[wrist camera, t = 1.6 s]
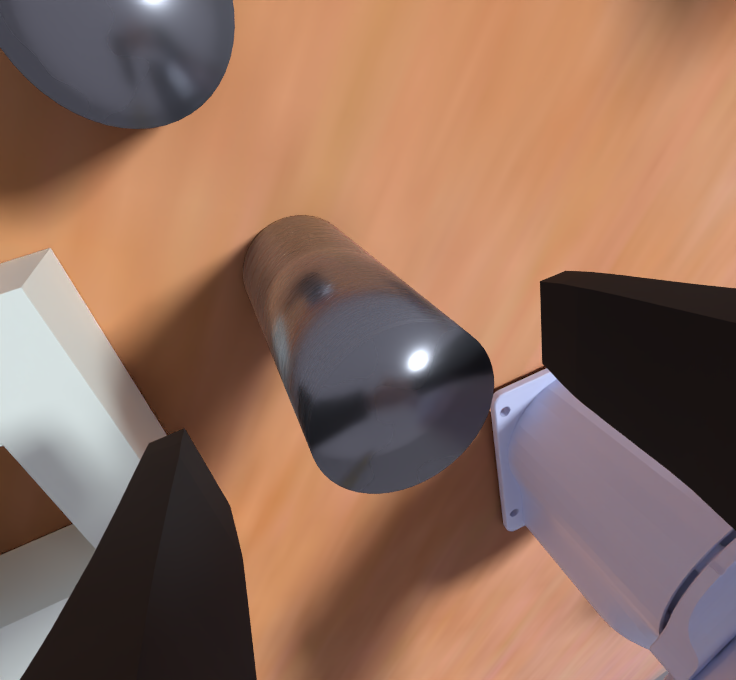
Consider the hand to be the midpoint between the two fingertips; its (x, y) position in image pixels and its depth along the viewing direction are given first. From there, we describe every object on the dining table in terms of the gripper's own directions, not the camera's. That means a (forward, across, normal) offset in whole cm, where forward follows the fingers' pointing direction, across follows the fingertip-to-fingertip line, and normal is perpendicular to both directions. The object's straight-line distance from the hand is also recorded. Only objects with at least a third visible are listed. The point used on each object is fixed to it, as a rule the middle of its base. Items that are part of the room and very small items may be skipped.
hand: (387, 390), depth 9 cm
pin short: (+7, +2, -7) cm, 10 cm away
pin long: (+7, 0, 0) cm, 7 cm away
